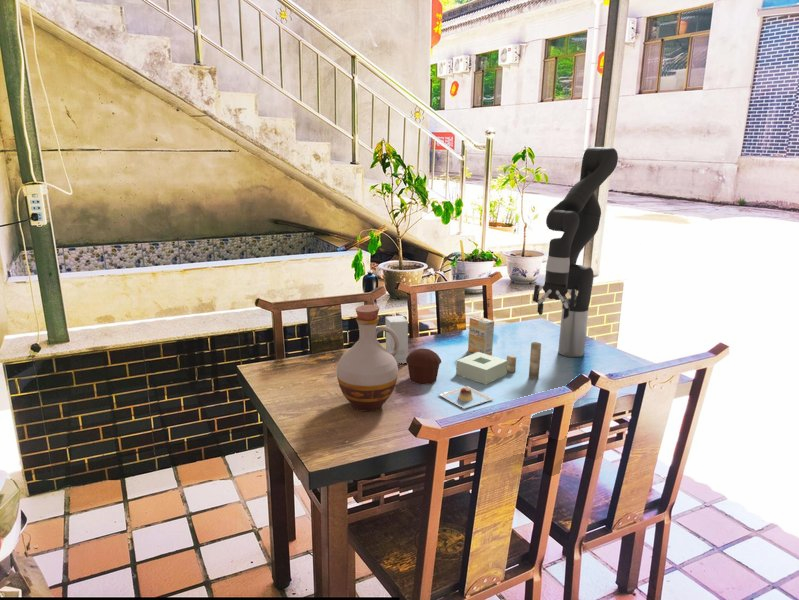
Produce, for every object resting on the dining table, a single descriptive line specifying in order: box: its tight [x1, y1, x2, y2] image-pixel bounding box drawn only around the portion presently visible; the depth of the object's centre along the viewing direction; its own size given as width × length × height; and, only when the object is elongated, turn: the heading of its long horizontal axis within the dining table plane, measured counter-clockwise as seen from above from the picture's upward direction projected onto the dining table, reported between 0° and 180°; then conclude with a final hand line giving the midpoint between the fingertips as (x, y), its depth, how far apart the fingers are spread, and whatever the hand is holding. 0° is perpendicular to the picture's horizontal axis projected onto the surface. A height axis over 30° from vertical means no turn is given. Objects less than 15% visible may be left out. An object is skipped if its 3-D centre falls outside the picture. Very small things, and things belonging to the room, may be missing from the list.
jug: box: [336, 304, 399, 412], centre depth 173 cm, size 20×18×30 cm
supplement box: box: [467, 315, 495, 356], centre depth 220 cm, size 8×5×13 cm, turn 41°
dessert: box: [437, 385, 494, 409], centre depth 182 cm, size 12×12×5 cm
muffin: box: [406, 348, 442, 386], centre depth 196 cm, size 12×11×10 cm
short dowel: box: [506, 354, 517, 373], centre depth 205 cm, size 3×3×5 cm
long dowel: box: [528, 341, 542, 381], centre depth 198 cm, size 3×3×12 cm
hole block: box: [455, 352, 507, 385], centre depth 201 cm, size 12×12×5 cm
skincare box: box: [385, 314, 409, 365], centre depth 211 cm, size 8×7×16 cm
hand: (552, 316), depth 206 cm, fingers open, 8 cm apart
